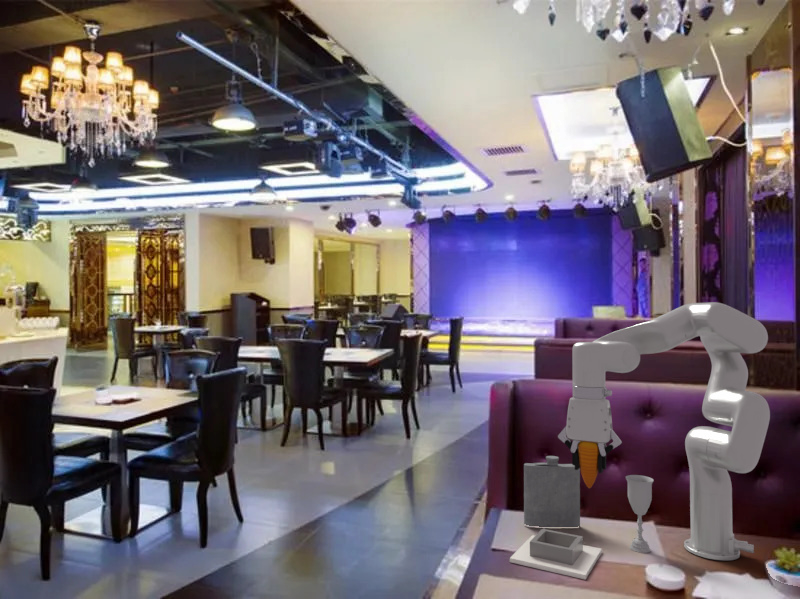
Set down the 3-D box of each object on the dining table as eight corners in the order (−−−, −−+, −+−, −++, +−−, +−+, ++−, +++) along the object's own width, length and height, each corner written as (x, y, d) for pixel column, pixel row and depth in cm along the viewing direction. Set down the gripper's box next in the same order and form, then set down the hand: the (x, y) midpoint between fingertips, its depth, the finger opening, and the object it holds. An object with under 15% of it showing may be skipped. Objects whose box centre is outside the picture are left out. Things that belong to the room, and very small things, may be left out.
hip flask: (578, 524, 165) (577, 455, 166) (582, 529, 161) (581, 458, 162) (523, 523, 166) (523, 454, 166) (525, 528, 162) (525, 457, 162)
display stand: (601, 552, 145) (601, 534, 145) (585, 579, 129) (585, 559, 130) (532, 538, 154) (532, 521, 154) (509, 562, 139) (509, 543, 139)
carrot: (600, 492, 132) (600, 427, 133) (578, 490, 134) (578, 425, 135) (599, 486, 137) (599, 423, 138) (578, 484, 139) (578, 422, 139)
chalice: (657, 555, 143) (656, 483, 144) (628, 553, 145) (628, 481, 145) (650, 544, 150) (650, 475, 151) (623, 542, 152) (623, 474, 153)
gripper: (628, 394, 136) (629, 471, 135) (556, 389, 144) (557, 462, 143) (624, 397, 129) (624, 479, 128) (549, 392, 137) (549, 469, 137)
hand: (589, 469), depth 136 cm, fingers closed on carrot, 4 cm apart
